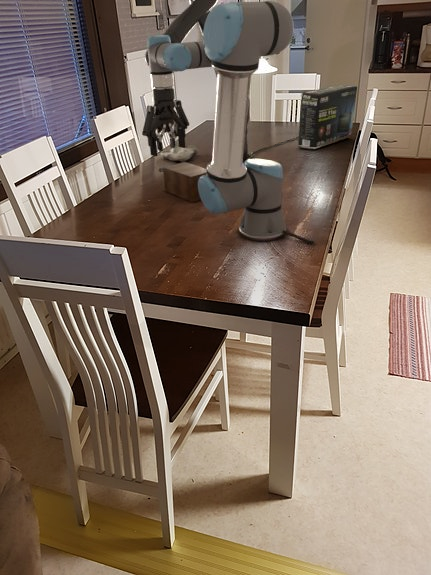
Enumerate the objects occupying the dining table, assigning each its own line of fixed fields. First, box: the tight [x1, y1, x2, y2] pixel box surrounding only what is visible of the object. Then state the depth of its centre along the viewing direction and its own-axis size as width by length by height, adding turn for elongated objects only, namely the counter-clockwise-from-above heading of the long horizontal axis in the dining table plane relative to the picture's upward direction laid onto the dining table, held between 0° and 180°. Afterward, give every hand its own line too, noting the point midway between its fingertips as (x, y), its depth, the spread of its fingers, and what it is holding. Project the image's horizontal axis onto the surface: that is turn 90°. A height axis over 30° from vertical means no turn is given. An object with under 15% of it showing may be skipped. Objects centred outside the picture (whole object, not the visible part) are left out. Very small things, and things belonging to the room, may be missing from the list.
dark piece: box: [158, 165, 169, 189], centre depth 185 cm, size 22×9×8 cm, turn 40°
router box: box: [297, 84, 358, 151], centre depth 238 cm, size 36×11×27 cm, turn 134°
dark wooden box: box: [163, 161, 207, 203], centre depth 182 cm, size 18×10×10 cm, turn 40°
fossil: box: [160, 142, 199, 163], centre depth 229 cm, size 18×11×15 cm
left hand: (166, 149), depth 185 cm, fingers open, 5 cm apart
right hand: (168, 151), depth 165 cm, fingers open, 13 cm apart
